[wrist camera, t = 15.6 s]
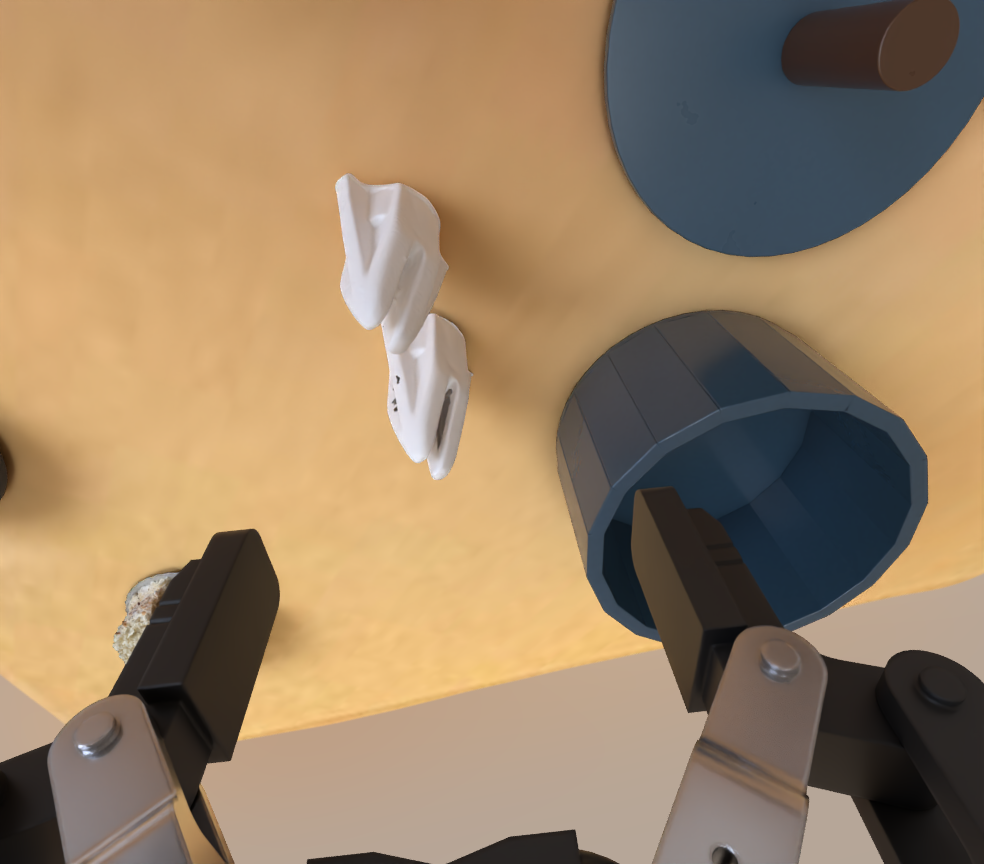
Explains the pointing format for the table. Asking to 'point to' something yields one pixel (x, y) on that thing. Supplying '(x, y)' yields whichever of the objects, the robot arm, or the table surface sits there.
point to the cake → (139, 612)
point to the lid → (785, 110)
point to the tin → (739, 462)
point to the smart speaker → (2, 476)
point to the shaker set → (406, 313)
